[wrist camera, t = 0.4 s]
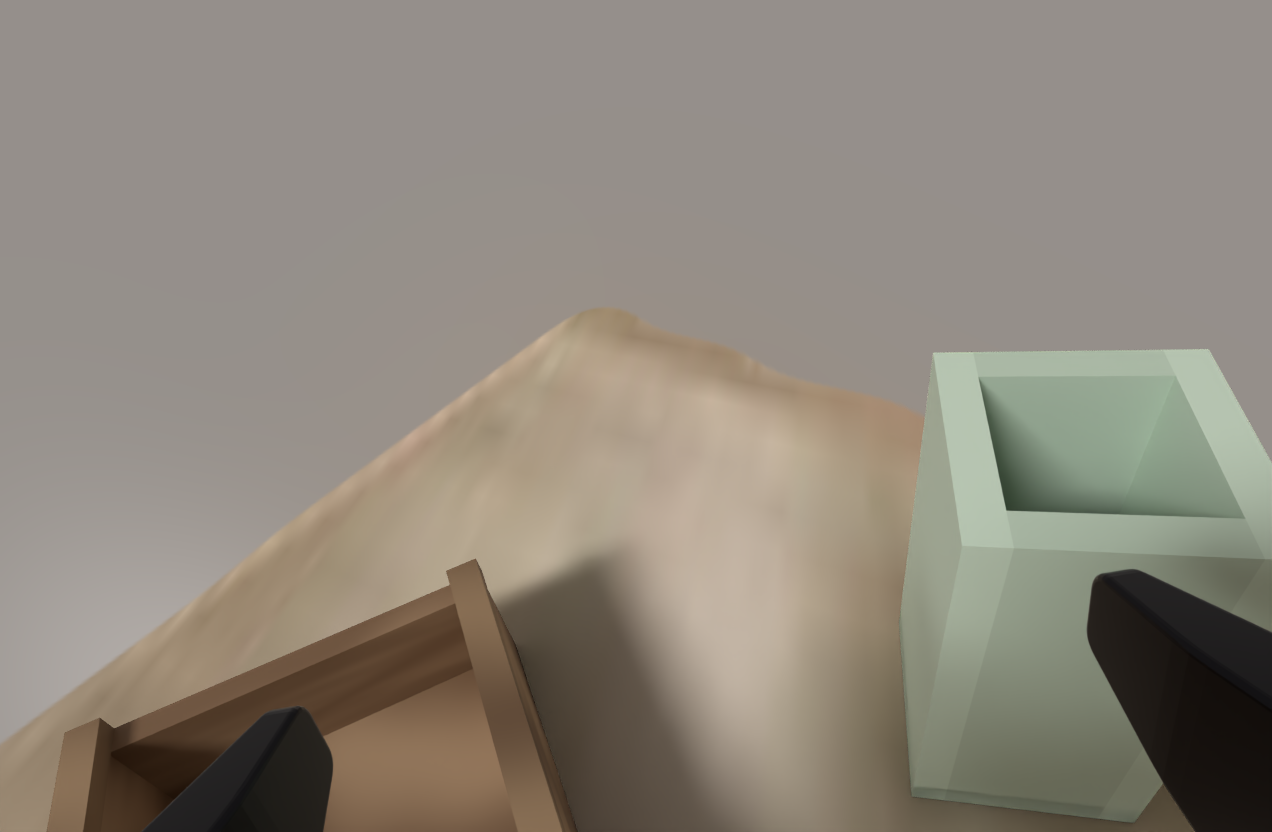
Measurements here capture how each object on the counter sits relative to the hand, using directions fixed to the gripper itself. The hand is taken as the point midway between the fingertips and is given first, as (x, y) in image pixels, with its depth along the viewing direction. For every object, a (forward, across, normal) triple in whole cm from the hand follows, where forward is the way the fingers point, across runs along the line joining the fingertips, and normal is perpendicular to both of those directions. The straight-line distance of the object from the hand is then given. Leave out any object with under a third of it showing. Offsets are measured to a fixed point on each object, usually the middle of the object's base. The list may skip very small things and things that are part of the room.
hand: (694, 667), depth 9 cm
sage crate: (+10, -9, +14) cm, 20 cm away
